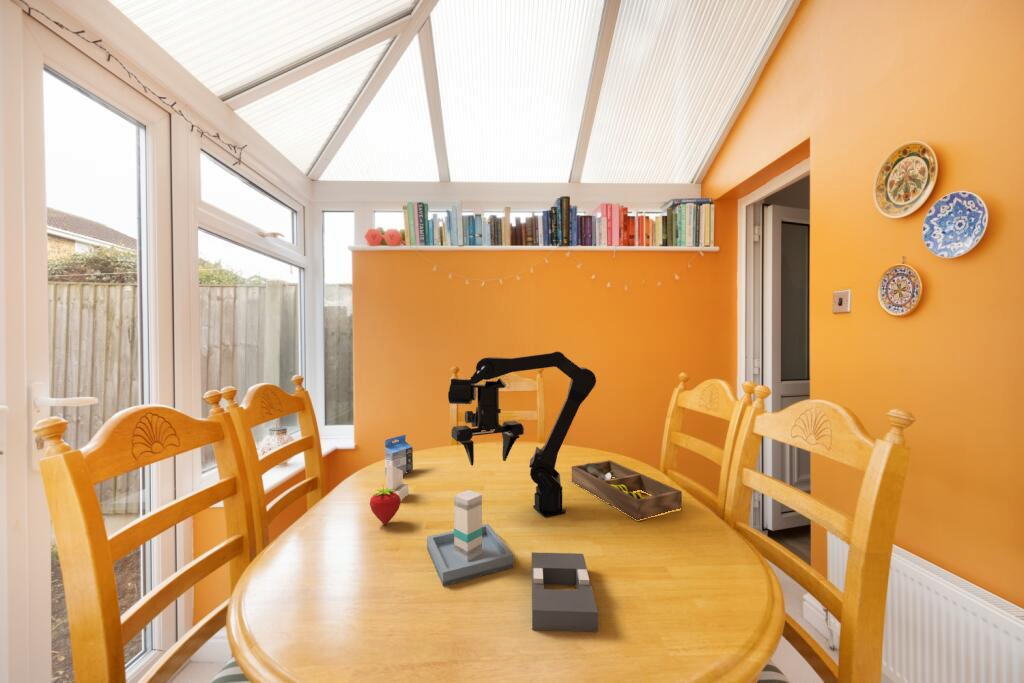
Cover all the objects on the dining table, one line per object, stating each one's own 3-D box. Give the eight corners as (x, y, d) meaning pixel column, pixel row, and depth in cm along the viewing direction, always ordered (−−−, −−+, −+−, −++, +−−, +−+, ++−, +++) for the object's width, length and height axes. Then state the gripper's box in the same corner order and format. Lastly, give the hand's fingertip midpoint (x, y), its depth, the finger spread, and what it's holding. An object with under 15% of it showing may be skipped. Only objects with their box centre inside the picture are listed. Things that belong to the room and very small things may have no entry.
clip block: (531, 567, 74) (531, 548, 74) (583, 569, 74) (583, 549, 74) (532, 629, 58) (532, 604, 58) (598, 631, 58) (597, 606, 58)
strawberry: (393, 531, 88) (393, 488, 88) (364, 528, 90) (364, 486, 90) (405, 519, 94) (405, 479, 94) (377, 517, 96) (377, 477, 96)
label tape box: (392, 479, 122) (392, 441, 122) (384, 476, 125) (384, 439, 125) (413, 471, 130) (413, 435, 130) (405, 469, 132) (405, 434, 132)
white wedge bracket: (378, 499, 101) (386, 465, 105) (394, 504, 109) (401, 472, 114) (390, 500, 100) (398, 466, 104) (406, 505, 109) (413, 473, 113)
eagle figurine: (610, 477, 120) (582, 470, 122) (615, 463, 116) (586, 456, 118) (610, 498, 114) (580, 491, 116) (615, 484, 110) (584, 476, 112)
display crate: (610, 475, 126) (609, 460, 126) (681, 510, 99) (681, 491, 99) (571, 482, 119) (571, 466, 119) (637, 521, 93) (637, 501, 93)
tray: (488, 534, 87) (488, 523, 87) (513, 567, 74) (513, 554, 74) (427, 548, 81) (427, 536, 81) (443, 586, 68) (443, 572, 68)
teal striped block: (468, 546, 80) (468, 489, 81) (482, 553, 78) (482, 494, 78) (453, 554, 77) (453, 495, 77) (467, 561, 75) (467, 500, 75)
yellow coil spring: (644, 511, 99) (644, 492, 99) (629, 514, 97) (629, 495, 97) (619, 497, 108) (619, 479, 108) (605, 500, 106) (605, 482, 106)
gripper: (508, 398, 112) (508, 450, 112) (446, 402, 104) (446, 459, 104) (524, 403, 102) (524, 461, 102) (457, 408, 94) (457, 471, 94)
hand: (488, 462), depth 101 cm, fingers open, 9 cm apart
